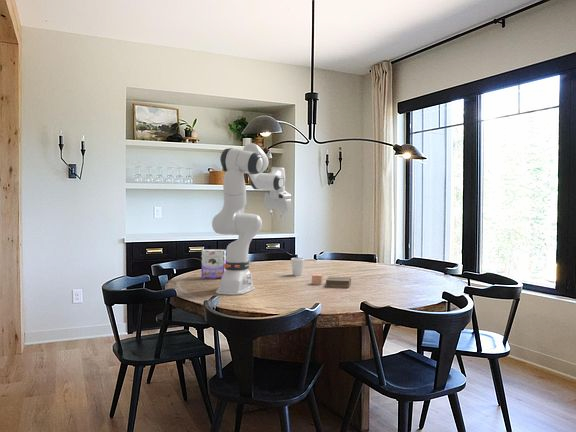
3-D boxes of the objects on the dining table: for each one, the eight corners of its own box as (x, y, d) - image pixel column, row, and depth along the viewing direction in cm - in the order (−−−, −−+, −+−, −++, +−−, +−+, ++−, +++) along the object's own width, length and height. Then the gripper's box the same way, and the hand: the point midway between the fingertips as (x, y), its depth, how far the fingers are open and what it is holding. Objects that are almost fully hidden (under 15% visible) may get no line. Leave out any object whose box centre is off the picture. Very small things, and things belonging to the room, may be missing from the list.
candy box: (226, 277, 277) (226, 249, 276) (224, 278, 271) (224, 250, 270) (203, 276, 278) (203, 249, 278) (201, 278, 273) (200, 250, 272)
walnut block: (348, 288, 245) (348, 281, 244) (326, 287, 247) (326, 280, 247) (350, 284, 256) (350, 277, 256) (329, 283, 259) (329, 276, 259)
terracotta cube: (321, 284, 253) (321, 275, 253) (311, 284, 254) (311, 275, 254) (322, 283, 258) (322, 274, 258) (313, 282, 259) (313, 273, 259)
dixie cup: (288, 274, 287) (288, 258, 286) (301, 273, 290) (301, 257, 289) (293, 276, 279) (293, 259, 278) (306, 275, 282) (306, 259, 281)
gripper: (261, 191, 282) (261, 214, 285) (286, 196, 268) (285, 220, 271) (269, 190, 287) (268, 212, 290) (293, 195, 273) (292, 218, 276)
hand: (276, 216), depth 280 cm, fingers open, 8 cm apart
